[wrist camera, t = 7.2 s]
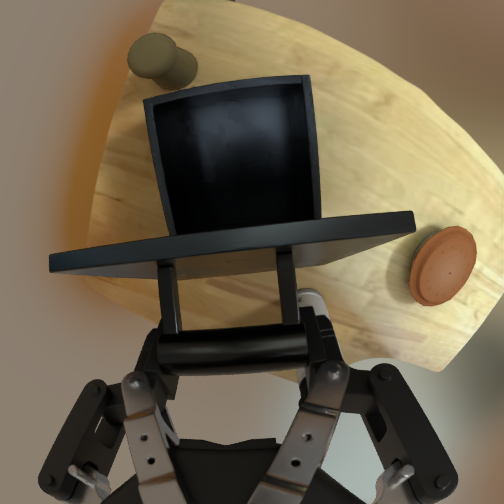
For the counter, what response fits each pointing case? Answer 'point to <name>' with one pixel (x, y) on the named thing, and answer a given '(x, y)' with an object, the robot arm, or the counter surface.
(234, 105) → the black open box
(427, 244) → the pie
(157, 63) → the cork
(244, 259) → the lid
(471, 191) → the counter surface
